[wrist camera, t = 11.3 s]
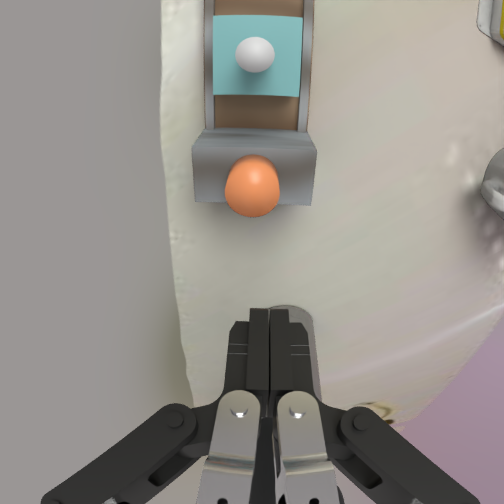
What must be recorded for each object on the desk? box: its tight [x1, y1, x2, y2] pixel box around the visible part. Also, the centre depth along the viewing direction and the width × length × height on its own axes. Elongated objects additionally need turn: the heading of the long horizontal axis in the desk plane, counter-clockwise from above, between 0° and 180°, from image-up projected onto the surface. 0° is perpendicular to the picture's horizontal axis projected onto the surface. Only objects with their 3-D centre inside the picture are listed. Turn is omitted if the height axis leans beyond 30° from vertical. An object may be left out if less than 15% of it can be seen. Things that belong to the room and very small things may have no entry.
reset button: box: [225, 154, 280, 217], centre depth 24 cm, size 4×4×3 cm
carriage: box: [213, 15, 303, 97], centre depth 20 cm, size 7×7×10 cm
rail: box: [192, 0, 317, 206], centre depth 20 cm, size 32×10×8 cm, turn 179°
